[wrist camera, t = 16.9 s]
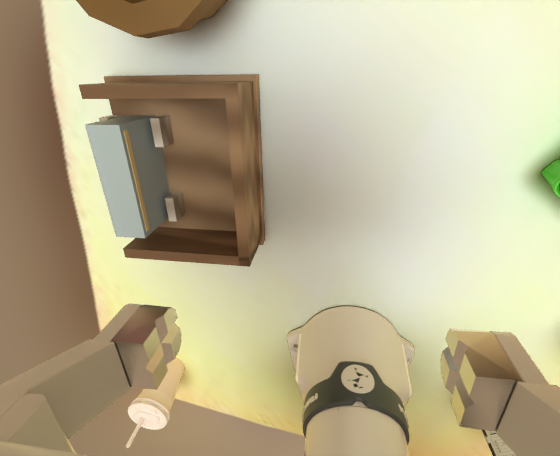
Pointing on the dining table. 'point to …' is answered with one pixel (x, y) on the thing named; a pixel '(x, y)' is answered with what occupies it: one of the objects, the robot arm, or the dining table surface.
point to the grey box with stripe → (130, 173)
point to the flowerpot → (151, 14)
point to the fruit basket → (553, 176)
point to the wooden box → (199, 162)
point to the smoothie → (156, 401)
